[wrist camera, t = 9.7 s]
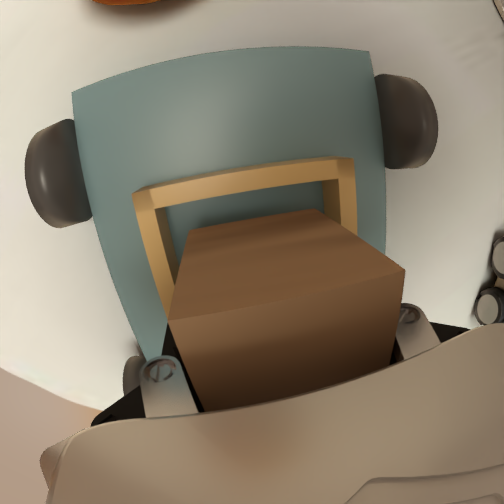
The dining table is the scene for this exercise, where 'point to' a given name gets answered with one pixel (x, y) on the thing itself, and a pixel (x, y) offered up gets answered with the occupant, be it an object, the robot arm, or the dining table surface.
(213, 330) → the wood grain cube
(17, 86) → the dining table surface
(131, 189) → the chassis
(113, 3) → the fruit
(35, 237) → the dining table surface
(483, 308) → the toy excavator
